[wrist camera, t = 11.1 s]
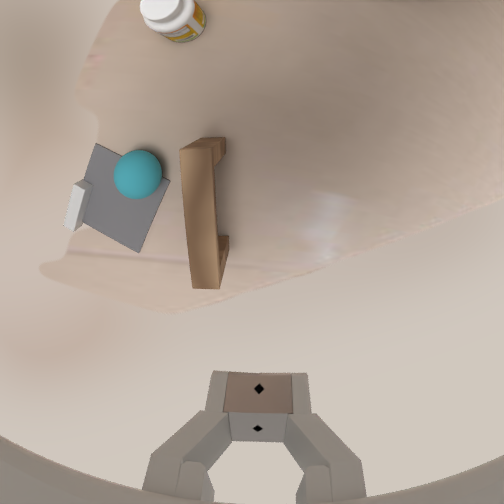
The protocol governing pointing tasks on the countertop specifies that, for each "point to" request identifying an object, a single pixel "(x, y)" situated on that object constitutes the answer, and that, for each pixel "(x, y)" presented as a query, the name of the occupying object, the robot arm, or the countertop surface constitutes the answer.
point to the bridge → (203, 212)
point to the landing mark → (118, 202)
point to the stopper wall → (77, 205)
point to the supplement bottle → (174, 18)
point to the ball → (137, 174)
